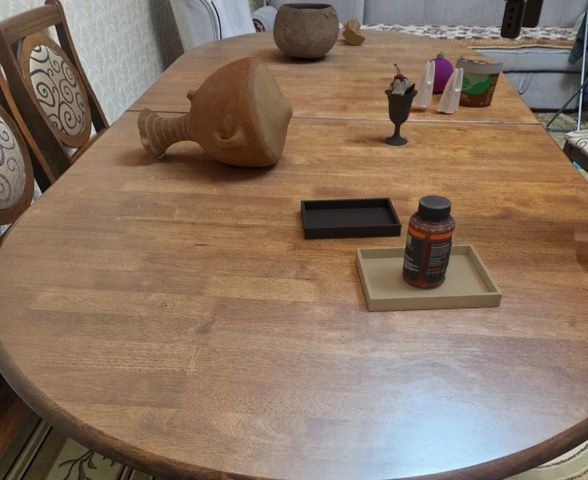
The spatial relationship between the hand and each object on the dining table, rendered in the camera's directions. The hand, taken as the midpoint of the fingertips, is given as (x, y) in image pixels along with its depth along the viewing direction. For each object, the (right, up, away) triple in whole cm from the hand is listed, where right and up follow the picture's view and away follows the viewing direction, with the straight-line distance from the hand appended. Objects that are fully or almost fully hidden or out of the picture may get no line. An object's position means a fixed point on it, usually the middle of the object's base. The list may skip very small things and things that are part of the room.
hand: (519, 32), depth 70 cm
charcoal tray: (-20, -20, +19) cm, 34 cm away
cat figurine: (-8, +69, +125) cm, 143 cm away
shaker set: (+5, +18, +64) cm, 67 cm away
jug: (-43, -2, +41) cm, 60 cm away
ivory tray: (-11, -31, +6) cm, 33 cm away
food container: (+15, +21, +68) cm, 73 cm away
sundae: (-7, +4, +48) cm, 49 cm away
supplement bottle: (-11, -31, +6) cm, 33 cm away
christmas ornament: (+9, +29, +77) cm, 83 cm away
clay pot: (-25, +54, +109) cm, 124 cm away
